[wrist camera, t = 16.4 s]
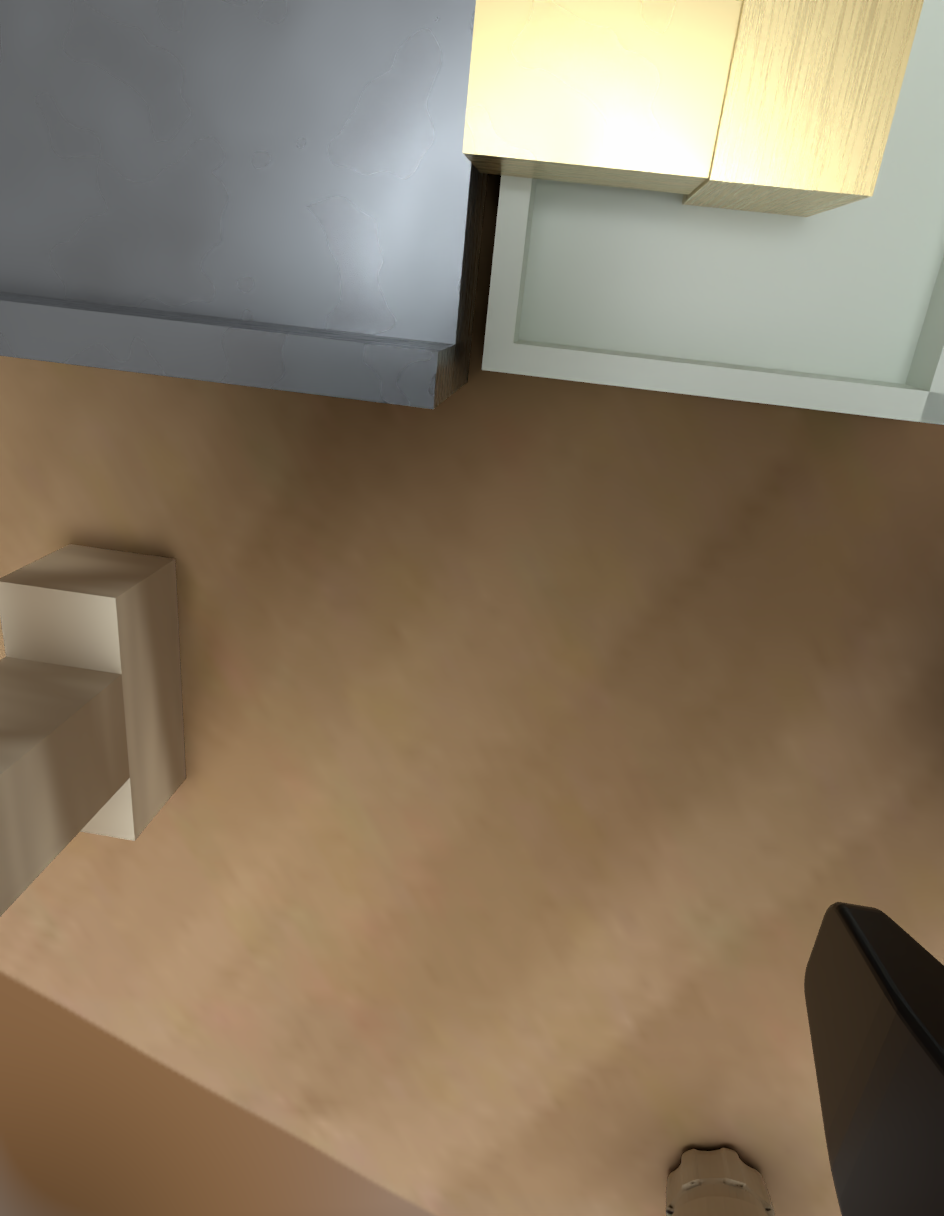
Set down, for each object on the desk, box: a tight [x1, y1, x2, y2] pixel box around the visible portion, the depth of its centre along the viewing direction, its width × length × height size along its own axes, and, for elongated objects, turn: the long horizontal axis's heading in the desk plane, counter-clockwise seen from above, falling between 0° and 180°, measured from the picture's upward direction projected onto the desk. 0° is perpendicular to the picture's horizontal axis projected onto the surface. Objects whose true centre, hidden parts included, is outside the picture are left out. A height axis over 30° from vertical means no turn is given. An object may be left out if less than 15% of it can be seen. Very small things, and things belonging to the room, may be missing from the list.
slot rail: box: [0, 0, 487, 409], centre depth 15 cm, size 13×12×4 cm
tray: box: [482, 0, 944, 425], centre depth 15 cm, size 10×11×2 cm
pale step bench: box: [0, 544, 186, 916], centre depth 19 cm, size 3×7×9 cm, turn 175°
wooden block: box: [682, 0, 924, 217], centre depth 14 cm, size 4×4×2 cm
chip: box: [463, 0, 743, 195], centre depth 13 cm, size 4×4×2 cm
